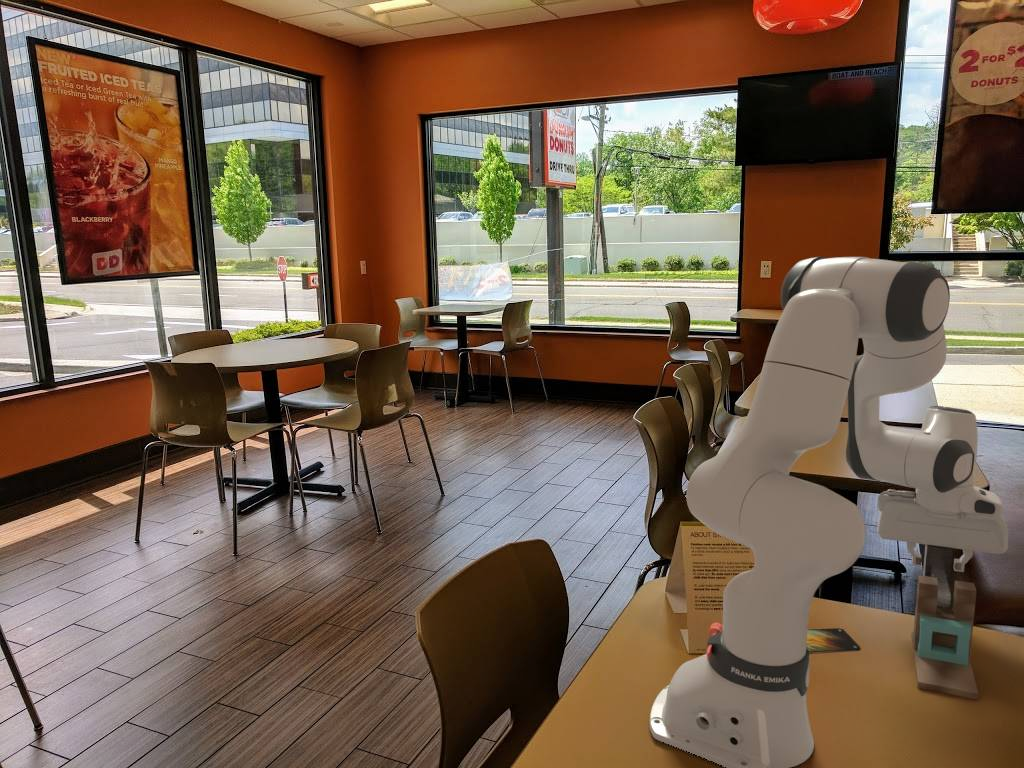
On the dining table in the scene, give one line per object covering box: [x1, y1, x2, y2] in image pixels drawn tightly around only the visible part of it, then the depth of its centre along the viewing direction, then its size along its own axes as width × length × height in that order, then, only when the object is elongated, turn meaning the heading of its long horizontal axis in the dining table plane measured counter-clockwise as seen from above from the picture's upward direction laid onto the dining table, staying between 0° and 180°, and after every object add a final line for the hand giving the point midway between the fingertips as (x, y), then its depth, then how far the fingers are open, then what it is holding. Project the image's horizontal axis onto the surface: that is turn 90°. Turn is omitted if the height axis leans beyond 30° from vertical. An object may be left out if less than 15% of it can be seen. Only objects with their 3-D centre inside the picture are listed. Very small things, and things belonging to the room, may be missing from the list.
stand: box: [910, 574, 979, 701], centre depth 118 cm, size 8×16×13 cm, turn 155°
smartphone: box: [806, 627, 862, 654], centre depth 128 cm, size 7×1×15 cm
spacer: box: [917, 615, 971, 666], centre depth 120 cm, size 7×2×6 cm, turn 65°
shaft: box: [922, 544, 954, 609], centre depth 128 cm, size 4×14×7 cm, turn 155°
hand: (937, 567), depth 133 cm, fingers open, 5 cm apart
